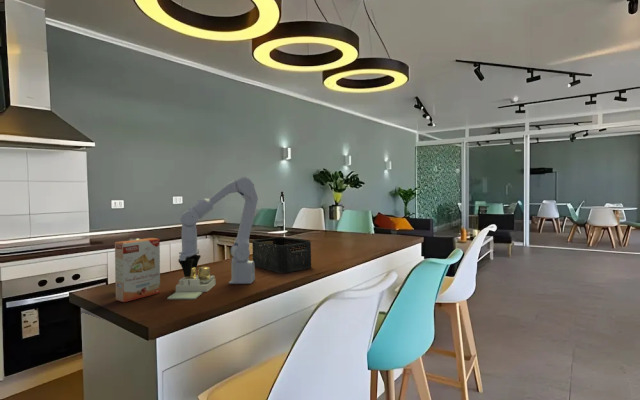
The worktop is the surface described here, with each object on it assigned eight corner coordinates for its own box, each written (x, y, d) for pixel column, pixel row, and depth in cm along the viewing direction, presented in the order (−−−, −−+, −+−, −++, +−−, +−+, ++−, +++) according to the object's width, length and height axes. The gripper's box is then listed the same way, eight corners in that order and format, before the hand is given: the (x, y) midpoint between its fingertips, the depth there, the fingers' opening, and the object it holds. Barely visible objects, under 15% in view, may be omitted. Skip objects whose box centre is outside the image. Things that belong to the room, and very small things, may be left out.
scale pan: (214, 278, 144) (214, 275, 143) (208, 283, 136) (208, 280, 136) (186, 278, 144) (186, 275, 144) (178, 283, 136) (178, 280, 136)
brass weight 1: (197, 276, 142) (197, 266, 142) (193, 279, 138) (193, 269, 138) (187, 276, 142) (186, 266, 142) (182, 279, 138) (182, 269, 138)
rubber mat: (202, 293, 132) (202, 292, 132) (195, 299, 125) (194, 297, 125) (176, 293, 132) (176, 292, 132) (167, 299, 125) (167, 297, 125)
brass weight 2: (211, 276, 142) (211, 266, 142) (207, 279, 138) (207, 269, 137) (200, 276, 142) (200, 266, 142) (196, 279, 138) (196, 269, 138)
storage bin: (250, 265, 181) (249, 239, 181) (280, 260, 194) (280, 235, 194) (282, 275, 160) (281, 245, 160) (314, 268, 173) (314, 241, 172)
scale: (215, 284, 144) (215, 273, 144) (206, 291, 134) (206, 279, 134) (186, 284, 144) (186, 273, 144) (175, 291, 134) (175, 279, 134)
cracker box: (124, 303, 121) (122, 243, 120) (115, 300, 124) (113, 241, 124) (161, 293, 133) (160, 238, 132) (152, 290, 136) (150, 237, 136)
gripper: (187, 238, 147) (187, 270, 147) (171, 243, 132) (172, 279, 133) (203, 238, 147) (204, 270, 147) (189, 243, 132) (190, 279, 133)
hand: (190, 275), depth 140 cm, fingers closed on brass weight 1, 4 cm apart
